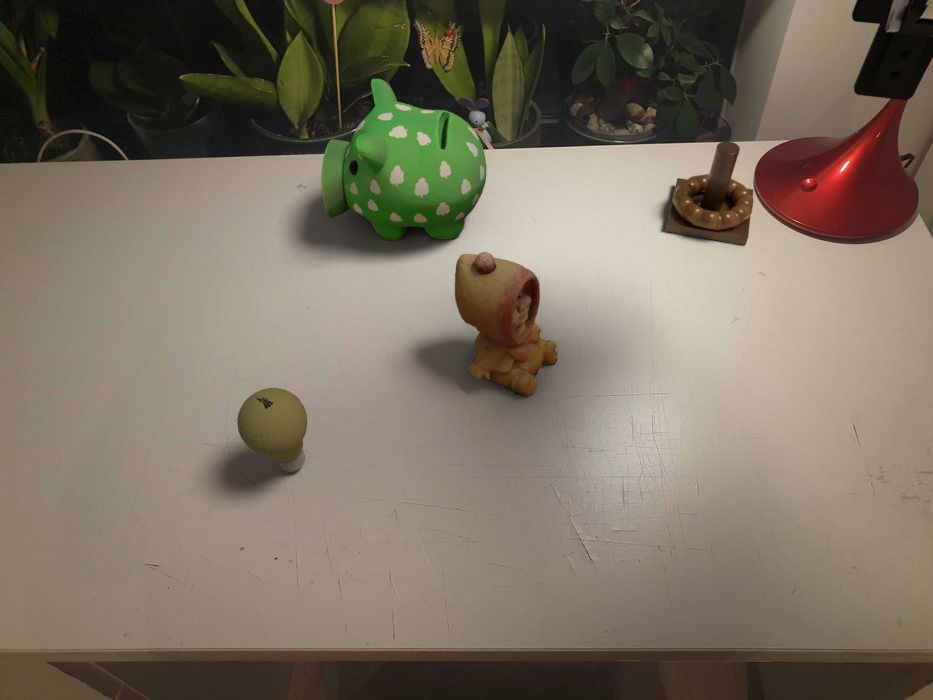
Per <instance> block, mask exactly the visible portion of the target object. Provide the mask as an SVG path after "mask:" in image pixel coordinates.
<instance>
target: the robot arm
mask: <svg viewBox="0 0 933 700" xmlns="http://www.w3.org/2000/svg"><path fill="white" fill-rule="evenodd" d="M851 18H852V21H853V22H855V23H865V24H876V25H877V24H879V25H878V26H877V29H876V32H875V34H874V36H873V39H872V41H871V44H870V46H869V49H868V50H867V53H866V56H865V58H864V60H863V62H862V65H861V68H860V69H859V73H858V75H857V77H856V79H855V82H854V85H853V86H854V87H853V90H854V91H853V92H854V94H855V95H857V96H861V97H862V96H863V97H871V98H881V99H891V100H899V101H908V100H910V99H912V98H913V97H914V95H915V94H916V91H917V89H918V87H919V85H920V83H921V82H922V80H923V77H924V75H925V73H926V72H927V69H928V67H929V65H930V64H931V62H932V59H933V0H856V2H855V4H854V7H853V9H852V12H851Z"/></svg>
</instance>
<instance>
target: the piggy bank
mask: <svg viewBox="0 0 933 700" xmlns="http://www.w3.org/2000/svg"><path fill="white" fill-rule="evenodd" d="M370 87H371V92H372V97H373V102H374V103H373V104H374V107H373V108H372V110H371V111H370V112H369V113H368V114H367V116H365V118H364V119H363V120H362V121H360V124H358V126H357V127H356V128H355V130H354V132H353V135H352V137H351V141H350V142H349V141H345V140H342V139H341V140H340V139H334V138H333V139H330V140H329V141H328V142H327V145H326V148H325V150H324V154H323V158H322V164H321V177H320V179H321V180H320V183H321V184H320V185H321V193H322V199H323V204H324V208H325V212H326V215H327V217H329V218H330V219H332V218H334V217H337V216H340V215H343V214H344V213H346V212H347V211H349V210H351V211H353V212H354V213H356V214H358V215H360V216H361V217H363V218H365V219H367V220H368V221H369V222H370V223H371V225H372V226H373V229H374V231H375V233H376V234H377V235H378V236H379V237H381V238H382V239H383V240H386V241H397V242H398V241H400V240H401V239H403V237H404V236H405V235H406V233H407V230H408V227H417V228H423V229H424V230H425V231H426V233H427V235H429V236H430V237H432V238H433V239H436V240H451V239H456V238H458V237H459V236H460V235H461V233H462V232H463V230H464V227H465V223H466V218H467V216H469V215H470V214H471V213H472V211H473V210H474V209H475V207H476V206H477V204H478V202H479V201H480V199H481V197H482V195H483V191H484V188H485V186H486V182H487V181H486V180H487V160H486V155H485V150H484V147H483V144H482V142H481V139H480V137H479V135H478V134H477V131H475V129H474V128H473V126H471V125H470V124H469V122H467V121H466V120H465V119H463V118H462V117H460V116H459V115H457V114H455V113H453V112H450V111H448V110H445V109H425V108H420V107H417V106H414V105H411V104H409V103H404V102H400V101H398V99H397V97H396V94H395V93H394V91H393V89H392V87H391V86H390V85H389V83H387V82H386V81H385V80H383V79H381V78H372V79H371V81H370Z"/></svg>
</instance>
